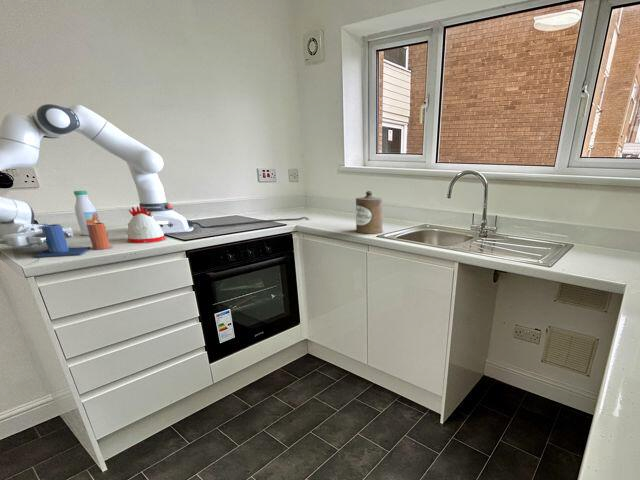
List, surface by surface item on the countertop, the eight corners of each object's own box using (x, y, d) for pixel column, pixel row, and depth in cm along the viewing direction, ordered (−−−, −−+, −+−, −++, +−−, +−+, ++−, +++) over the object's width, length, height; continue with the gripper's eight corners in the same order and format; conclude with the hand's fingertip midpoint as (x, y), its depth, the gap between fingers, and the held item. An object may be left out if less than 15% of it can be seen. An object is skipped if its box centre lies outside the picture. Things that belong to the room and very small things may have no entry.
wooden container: (351, 230, 200) (350, 190, 192) (371, 228, 209) (371, 189, 201) (366, 234, 190) (366, 192, 182) (387, 232, 199) (388, 191, 191)
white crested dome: (133, 237, 165) (125, 204, 159) (167, 236, 170) (160, 204, 164) (124, 243, 153) (115, 208, 147) (161, 242, 158) (153, 208, 152)
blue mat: (90, 248, 143) (89, 246, 143) (79, 255, 133) (79, 253, 133) (48, 250, 138) (48, 249, 138) (34, 257, 128) (34, 256, 128)
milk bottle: (82, 236, 163) (68, 191, 155) (81, 233, 168) (68, 190, 161) (103, 234, 167) (91, 191, 160) (102, 232, 173) (90, 190, 166)
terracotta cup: (112, 246, 148) (105, 222, 144) (108, 249, 143) (101, 224, 139) (95, 246, 146) (88, 222, 142) (91, 249, 141) (83, 224, 137)
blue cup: (71, 249, 138) (63, 224, 135) (66, 252, 133) (57, 226, 130) (53, 250, 136) (44, 224, 132) (46, 253, 131) (37, 227, 128)
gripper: (-10, 231, 124) (22, 234, 122) (53, 223, 143) (81, 225, 141) (-3, 249, 126) (29, 251, 124) (58, 238, 145) (86, 240, 143)
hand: (57, 237), depth 133 cm, fingers open, 8 cm apart
